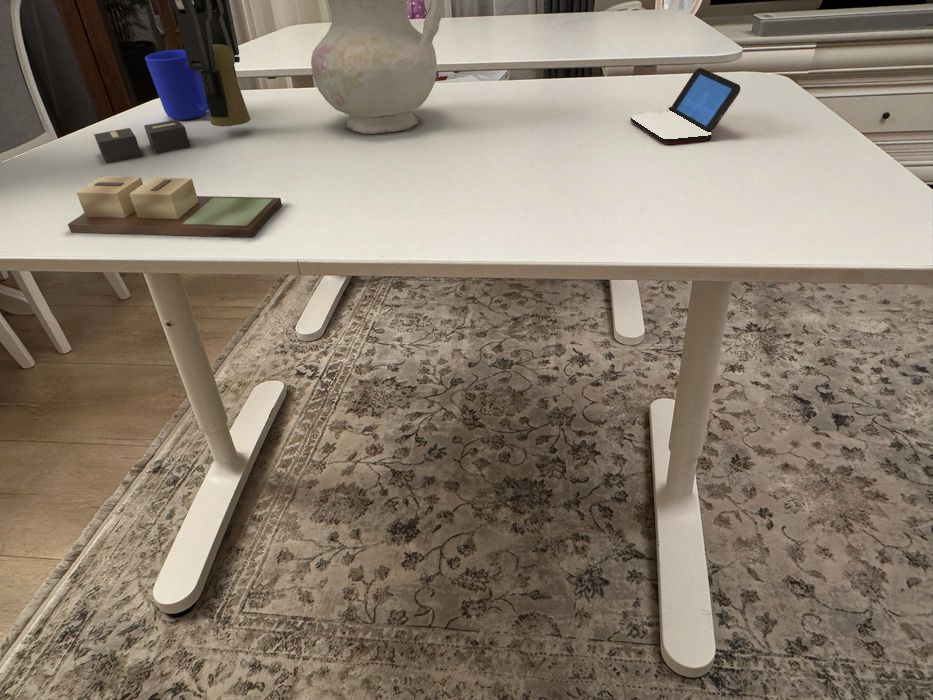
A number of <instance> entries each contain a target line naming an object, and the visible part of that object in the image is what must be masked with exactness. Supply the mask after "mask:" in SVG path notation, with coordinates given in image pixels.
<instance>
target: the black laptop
mask: <svg viewBox="0 0 933 700" xmlns="http://www.w3.org/2000/svg"><path fill="white" fill-rule="evenodd" d="M740 93H741V85H740V84H739V83H737V82H734V81H731V80H729V79H727V78H725V77H723V76H720V75H718V74H716V73H714V72H712V71H709V70H707V69H705V68H702V67H699V68H697V69H695V70H694V72H693V73H692V75H691V76H690V78H689V79H688V80H687V82H686V84H685V85H684V87H682V90H681V91H680V92H679V94H678V96H677V97H676V99H675V100H674V102H673V103H672V105H671V106H668V108H667V110H668V109H669V110H670V111H672V112H674V113H676V114H677V115H679V116H681V117H683V118H684V119H686V120H688V121H689V122H691V123H693V124H695V125H696V126H698V127H700V128H701V129H703V130H705V131H707V132H712V133H713V131H714V130H716V129H715V128H716V127H717V126H718V124H719V123H720V121H721V120H722V119H723V117H724V116H725V114H726V113H727V111H728V110H729V109H730V107H731V106H732V104H733V103H734V101H735V100H736V99H737V97H738V96H739V94H740ZM629 120H630V122H631V123H632V124H634V126H636V127H638V128H639V129H640V130H642V131H643V132H645V133H646V134H647V135H649V136H651V137H652V138H654V139H655V140H656V141H658V142H659V143H661V144H662V145H675V144H687V143H695V142H704V141H706V142H709V141H711V140H712V136H713V134H712V135H708V136H698V137H688V138H678V139H663V138H661V137H659V136H658V135H656V134H655V133H653V132H651V131H650V130H648V129H647V128H645V127H644V126H642V125H641V124H639V123H638V122H636V121H635V120H633V119H632V118H631V117H630V119H629Z"/></svg>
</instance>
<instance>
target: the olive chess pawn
mask: <svg viewBox="0 0 933 700" xmlns="http://www.w3.org/2000/svg"><path fill="white" fill-rule="evenodd" d="M213 52H214V60H215V67H216V70H215V71H220V75H221V79H222V84H223V88H224V92H225V97H226V103H227V110H228V116H229V117H211V114H210V113H209V120H210V124H211V125H212V126H215V127H234V126H240V125H243V124H246V123H249V122H250V121H251V116H250V113H249V111H248V108H247V105H246V103H245V99H244V96H243V94H242V91H241V87H240V83H239V82H238V81H239V80H238V78H237V79H236V76H237V75H236V76H235V73H234V70H233V66H234V67H235V65H236V64H235V63H236V62H235V57H236V56H235V57H234V54H233V51H232V50H231V49H230V47H228V46H226V45H221V44H213ZM208 111H209V112H210V110H208Z"/></svg>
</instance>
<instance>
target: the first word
mask: <svg viewBox="0 0 933 700" xmlns="http://www.w3.org/2000/svg"><path fill="white" fill-rule="evenodd" d="M143 127H144V129H145V130H144V131H145V134H146V137H147V140H148V143H149V145H150V147H151V148H152V149H153V151H154V152H155V153H156V154H159V153H165V152H169V151H175V150H176V151H177V150H180V149H181V150H182V149H185V148H190V147H191V143H190V140H189V136H188V132H187V129H186V127H185V126H184V125H183V123H182V122H181V121H180V120H176V119H171V120H168V121H162V122H156V123H151V124H150V123H149V124H145V125H143ZM93 136H94V138H95V141H96V144H97V146H98V150H99V152H100V155H101V157H102V159H103V161H104V163H105V164H109V163H114V162H119V161H124V160H129V159H134V158H140V157H143V155H142V152H141V149H140V146H139V142H138V140H137V136H136V134H135V133H134V132H133V130H132V129H131V127H127V128H126V127H125V128H122V129H116V130H115V129H114V130H110V131H109V130H108V131H104V132H98V133H94V134H93Z"/></svg>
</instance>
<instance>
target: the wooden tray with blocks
mask: <svg viewBox="0 0 933 700" xmlns="http://www.w3.org/2000/svg"><path fill="white" fill-rule="evenodd" d="M76 196H77V198H78V201H79V203H80V206H81V208H82V210H83V213H82V214H81V215H79V216H77V217H76V218H74V219H73V220H72V221H70V222H69V223H67V226H68V229H69V232H70V233H87V234H88V233H93V234H95V233H96V234H121V235H122V234H124V235H125V234H126V235H155V236H156V235H159V236H161V235H162V236H191V237H221V238H222V237H225V238H227V237H228V238H229V237H230V238H253V237H254V236H256V234H257V233H259V231H260V230H261V229H262V228H263V226H264V225H265V224H267V223H268V221H269V220H271V218H272V217H273V216H274V215H275V214H276V213H277V212H278V210H279V209H280V208H281V207H282V206H283V203H282V202H283V201H282V198H281V197H266V196H265V197H263V196H262V197H261V196H260V197H259V196H219V195H217V196H215V195H214V196H212V195H211V196H210V195H197V192H196V188H195V185H194V181H193V178H191V177H151V178H150V179H148V180H147V181H145V182H144V183H143V180H142V178H141V176H101V177H99V178H97V179H96V180H94V181H93V182H91V183H89V184H88V185H86V186H84V187H83V188H81V189H79V190H78V191H76Z"/></svg>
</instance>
